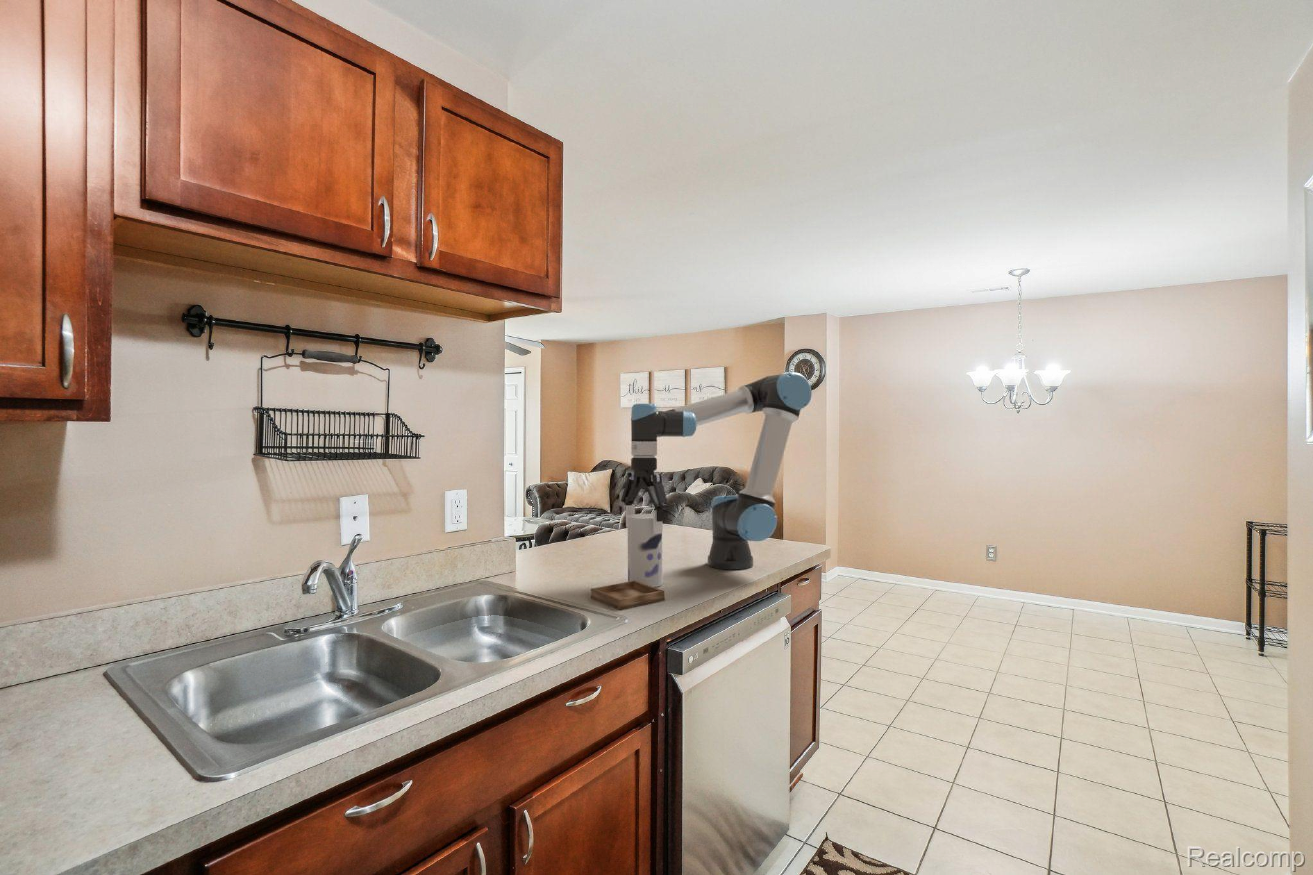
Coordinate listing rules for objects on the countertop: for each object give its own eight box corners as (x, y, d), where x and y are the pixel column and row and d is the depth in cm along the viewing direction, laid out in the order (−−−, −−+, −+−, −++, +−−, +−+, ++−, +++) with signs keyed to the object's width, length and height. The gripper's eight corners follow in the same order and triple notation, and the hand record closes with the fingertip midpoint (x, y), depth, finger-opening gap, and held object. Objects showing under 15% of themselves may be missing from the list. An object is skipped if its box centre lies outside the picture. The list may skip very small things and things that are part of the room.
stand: (634, 589, 167) (634, 580, 167) (664, 600, 156) (664, 590, 156) (591, 598, 159) (590, 588, 159) (619, 610, 148) (619, 599, 148)
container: (648, 590, 166) (647, 518, 166) (621, 585, 172) (620, 516, 172) (669, 583, 174) (668, 514, 174) (642, 578, 180) (641, 512, 180)
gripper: (610, 455, 181) (609, 525, 181) (659, 458, 161) (659, 536, 161) (630, 455, 185) (630, 523, 185) (681, 457, 165) (680, 534, 165)
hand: (643, 530), depth 173 cm, fingers open, 13 cm apart
